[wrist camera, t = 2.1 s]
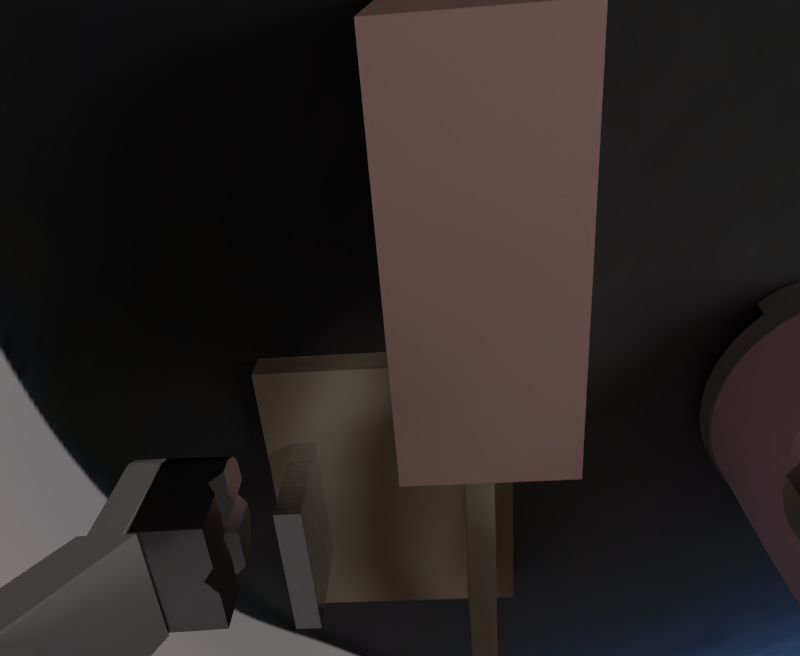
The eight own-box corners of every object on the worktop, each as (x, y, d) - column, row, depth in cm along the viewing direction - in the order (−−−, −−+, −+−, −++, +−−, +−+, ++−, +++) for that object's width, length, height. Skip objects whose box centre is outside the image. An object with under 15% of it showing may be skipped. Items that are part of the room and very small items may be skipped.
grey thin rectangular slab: (316, 442, 34) (300, 513, 30) (333, 549, 38) (321, 628, 33) (291, 443, 34) (272, 514, 30) (311, 549, 38) (296, 628, 33)
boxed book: (521, -22, 26) (610, -5, 14) (520, 275, 32) (584, 479, 19) (384, -11, 27) (351, 17, 14) (407, 282, 32) (397, 486, 20)
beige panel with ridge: (508, 345, 33) (527, 426, 28) (510, 575, 40) (525, 679, 34) (258, 358, 34) (224, 440, 28) (301, 582, 41) (282, 685, 35)
